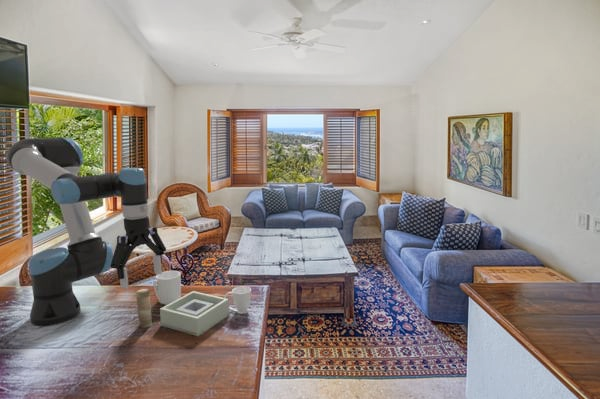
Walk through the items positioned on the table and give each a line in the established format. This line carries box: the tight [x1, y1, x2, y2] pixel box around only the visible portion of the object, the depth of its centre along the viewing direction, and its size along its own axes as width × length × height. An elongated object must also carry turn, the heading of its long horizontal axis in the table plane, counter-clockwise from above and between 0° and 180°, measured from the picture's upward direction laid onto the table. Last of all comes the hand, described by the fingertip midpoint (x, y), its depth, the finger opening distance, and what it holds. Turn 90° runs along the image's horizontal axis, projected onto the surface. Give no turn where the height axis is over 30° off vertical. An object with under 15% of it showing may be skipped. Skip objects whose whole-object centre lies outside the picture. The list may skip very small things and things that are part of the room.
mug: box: [152, 270, 182, 306], centre depth 149 cm, size 11×9×10 cm
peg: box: [135, 288, 153, 329], centre depth 131 cm, size 4×4×12 cm
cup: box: [223, 285, 252, 315], centre depth 141 cm, size 7×10×8 cm
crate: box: [159, 290, 230, 337], centre depth 135 cm, size 16×16×6 cm
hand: (142, 280), depth 129 cm, fingers open, 13 cm apart
